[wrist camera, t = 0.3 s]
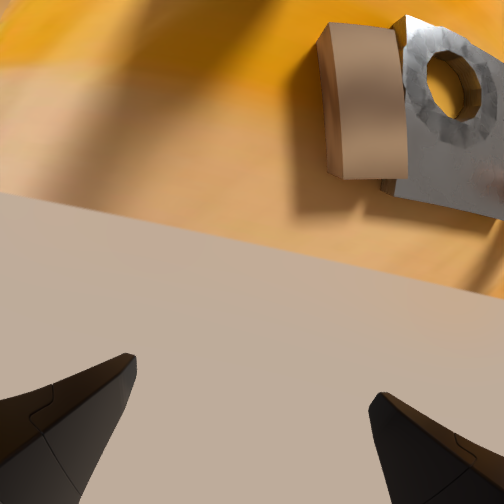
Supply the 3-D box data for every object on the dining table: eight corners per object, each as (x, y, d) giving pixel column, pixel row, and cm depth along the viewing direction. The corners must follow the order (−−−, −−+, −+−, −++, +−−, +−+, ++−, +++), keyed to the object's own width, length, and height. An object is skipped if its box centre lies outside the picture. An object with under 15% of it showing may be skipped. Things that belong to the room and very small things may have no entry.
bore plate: (389, 20, 16) (402, 10, 14) (510, 78, 17) (526, 76, 14) (376, 189, 21) (390, 195, 19) (498, 216, 21) (514, 223, 19)
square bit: (315, 42, 18) (328, 22, 14) (371, 46, 17) (394, 30, 13) (326, 172, 21) (343, 179, 17) (381, 171, 21) (407, 179, 17)
